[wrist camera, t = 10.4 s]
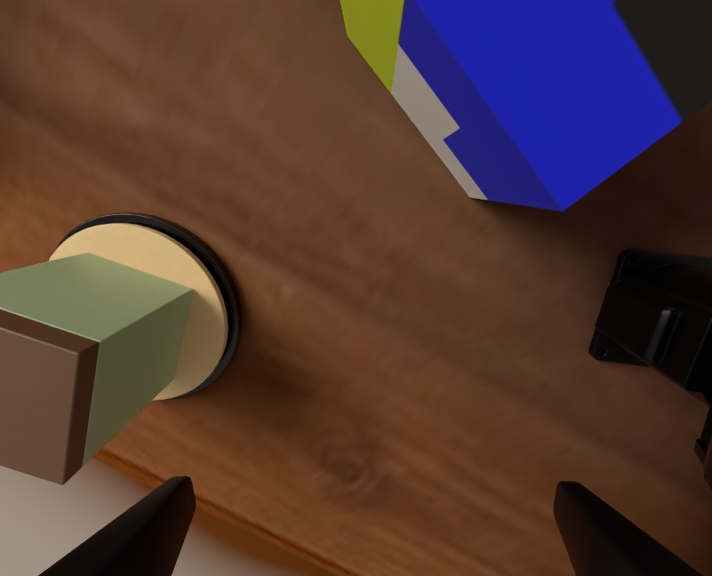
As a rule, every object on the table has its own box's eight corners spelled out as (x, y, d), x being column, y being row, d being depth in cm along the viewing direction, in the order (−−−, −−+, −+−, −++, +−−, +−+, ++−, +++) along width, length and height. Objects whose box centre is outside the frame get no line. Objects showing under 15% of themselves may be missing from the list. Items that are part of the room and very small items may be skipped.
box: (247, 261, 20) (157, 315, 12) (207, 418, 23) (113, 546, 15) (56, 194, 19) (-176, 202, 11) (41, 363, 23) (-149, 465, 14)
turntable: (183, 180, 20) (177, 180, 19) (274, 363, 23) (271, 368, 22) (14, 255, 22) (4, 257, 21) (118, 415, 24) (112, 421, 24)
